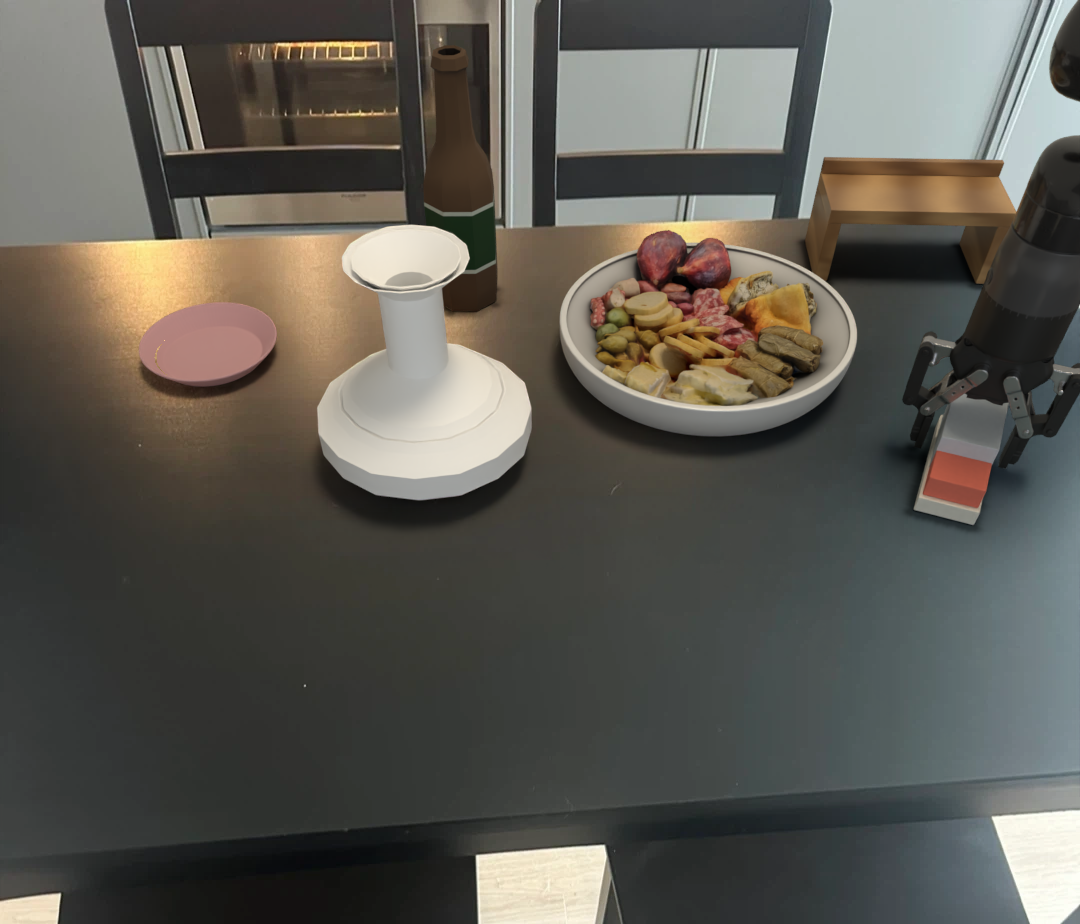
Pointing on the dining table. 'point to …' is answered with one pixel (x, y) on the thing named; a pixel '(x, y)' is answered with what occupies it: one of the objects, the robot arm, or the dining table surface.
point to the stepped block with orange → (961, 459)
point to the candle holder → (420, 382)
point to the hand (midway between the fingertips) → (959, 452)
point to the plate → (208, 343)
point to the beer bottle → (461, 184)
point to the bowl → (706, 336)
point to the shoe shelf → (911, 203)
